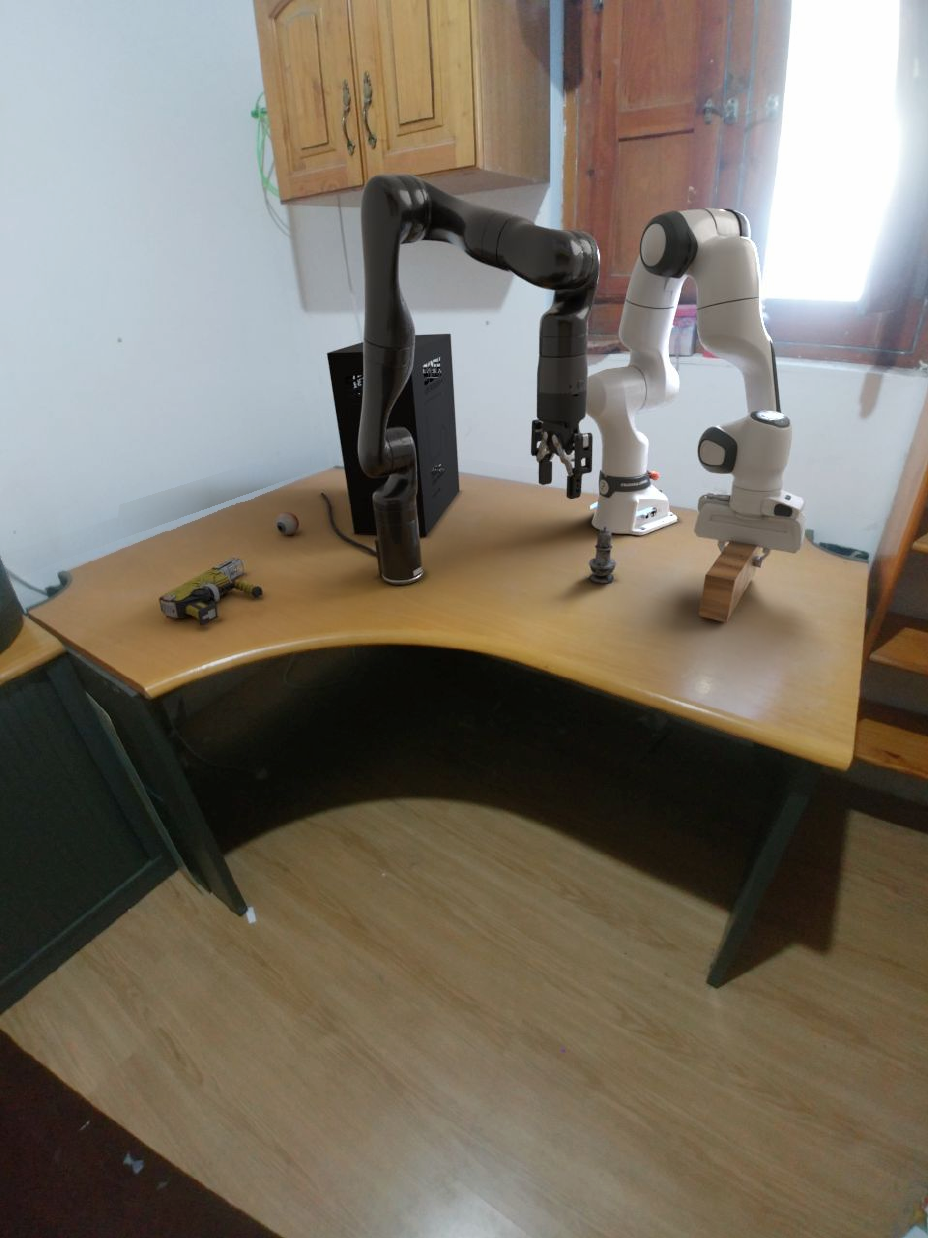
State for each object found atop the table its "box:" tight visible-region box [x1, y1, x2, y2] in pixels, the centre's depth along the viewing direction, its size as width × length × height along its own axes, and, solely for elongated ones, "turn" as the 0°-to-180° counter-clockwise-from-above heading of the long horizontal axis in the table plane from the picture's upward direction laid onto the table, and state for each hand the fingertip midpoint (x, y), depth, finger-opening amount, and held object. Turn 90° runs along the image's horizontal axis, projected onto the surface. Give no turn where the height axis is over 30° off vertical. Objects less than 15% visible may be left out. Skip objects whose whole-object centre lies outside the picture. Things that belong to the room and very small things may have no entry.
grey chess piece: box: [588, 527, 617, 584], centre depth 129 cm, size 6×6×12 cm
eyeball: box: [275, 511, 300, 536], centre depth 163 cm, size 6×6×6 cm
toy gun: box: [158, 557, 263, 626], centre depth 132 cm, size 5×24×15 cm
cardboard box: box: [326, 333, 460, 538], centre depth 165 cm, size 38×20×45 cm, turn 167°
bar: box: [698, 541, 761, 623], centre depth 119 cm, size 23×5×9 cm, turn 146°
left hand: (558, 490), depth 99 cm, fingers open, 8 cm apart
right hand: (741, 563), depth 125 cm, fingers closed on bar, 5 cm apart
